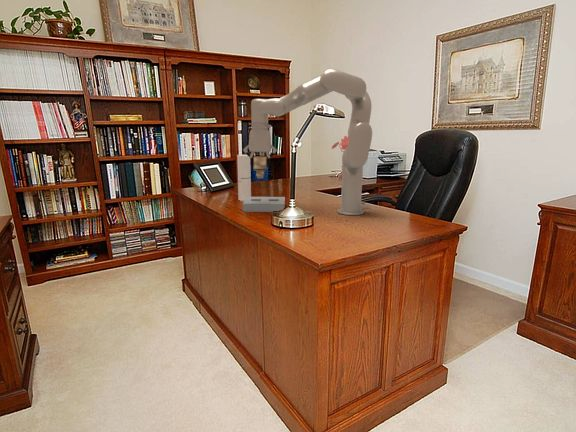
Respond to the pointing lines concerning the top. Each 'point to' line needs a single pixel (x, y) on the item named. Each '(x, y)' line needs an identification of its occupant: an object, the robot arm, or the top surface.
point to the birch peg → (260, 166)
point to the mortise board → (263, 204)
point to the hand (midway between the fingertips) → (260, 166)
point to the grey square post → (244, 177)
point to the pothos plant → (344, 146)
